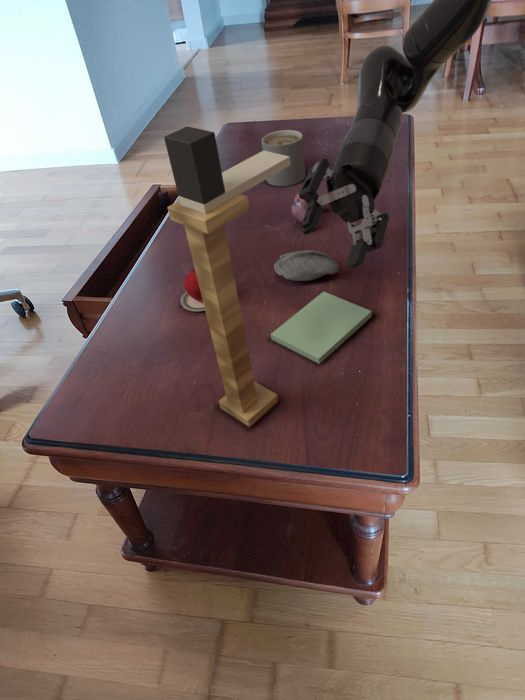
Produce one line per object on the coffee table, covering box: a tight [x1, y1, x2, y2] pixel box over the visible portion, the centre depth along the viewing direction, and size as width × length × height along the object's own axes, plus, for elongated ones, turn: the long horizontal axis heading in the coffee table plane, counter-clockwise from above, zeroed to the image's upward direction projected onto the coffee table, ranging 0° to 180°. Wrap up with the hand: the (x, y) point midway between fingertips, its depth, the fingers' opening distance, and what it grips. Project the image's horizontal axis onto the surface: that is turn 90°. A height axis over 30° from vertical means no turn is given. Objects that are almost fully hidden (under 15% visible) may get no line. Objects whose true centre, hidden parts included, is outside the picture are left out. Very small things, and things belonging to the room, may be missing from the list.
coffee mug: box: [261, 129, 306, 187], centre depth 128 cm, size 13×10×10 cm
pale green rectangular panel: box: [270, 291, 373, 365], centre depth 84 cm, size 10×14×1 cm
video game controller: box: [291, 192, 329, 229], centre depth 111 cm, size 10×5×7 cm, turn 161°
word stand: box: [167, 193, 279, 428], centre depth 63 cm, size 6×6×32 cm
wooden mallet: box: [163, 125, 291, 214], centre depth 53 cm, size 4×13×7 cm, turn 137°
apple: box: [180, 268, 205, 312], centre depth 92 cm, size 8×8×6 cm
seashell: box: [273, 249, 340, 282], centre depth 95 cm, size 12×8×5 cm
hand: (330, 249), depth 70 cm, fingers open, 8 cm apart
